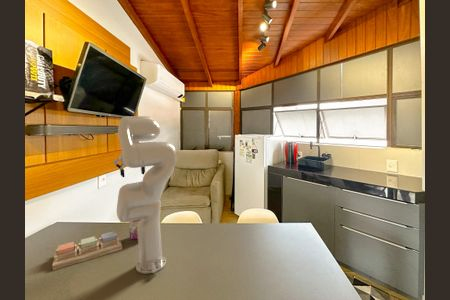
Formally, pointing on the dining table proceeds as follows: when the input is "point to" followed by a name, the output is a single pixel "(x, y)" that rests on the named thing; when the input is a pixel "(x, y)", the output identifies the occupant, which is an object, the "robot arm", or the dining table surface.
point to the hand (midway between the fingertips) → (133, 175)
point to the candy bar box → (133, 229)
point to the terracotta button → (65, 248)
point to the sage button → (88, 242)
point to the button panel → (86, 253)
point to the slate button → (108, 237)
